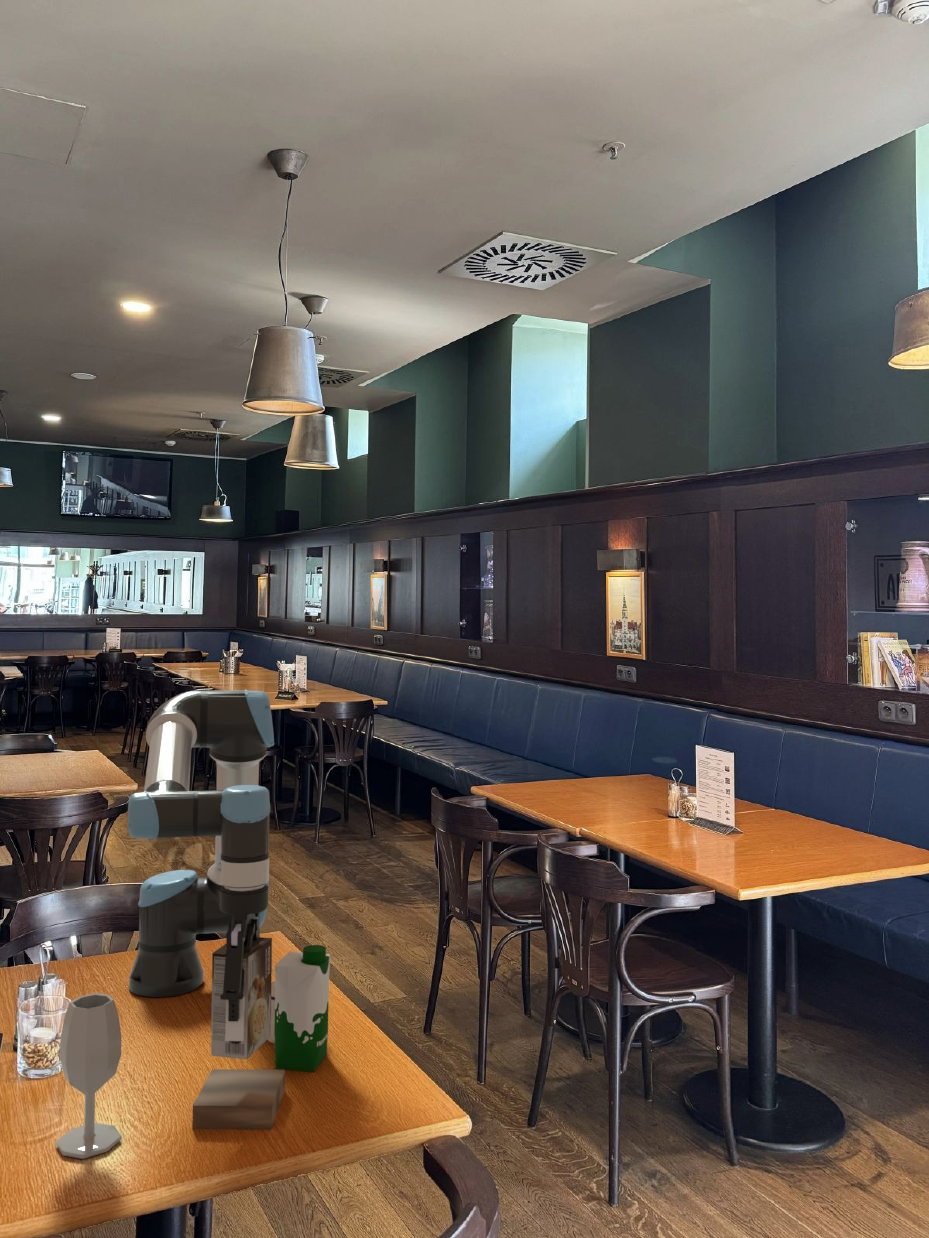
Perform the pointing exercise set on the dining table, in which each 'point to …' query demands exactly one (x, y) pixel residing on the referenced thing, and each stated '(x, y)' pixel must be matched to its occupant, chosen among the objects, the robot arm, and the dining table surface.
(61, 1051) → the wineglass
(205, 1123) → the brown flat block
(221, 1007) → the coffee box
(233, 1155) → the dining table surface
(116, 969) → the dining table surface
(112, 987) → the dining table surface
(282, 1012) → the milk carton
